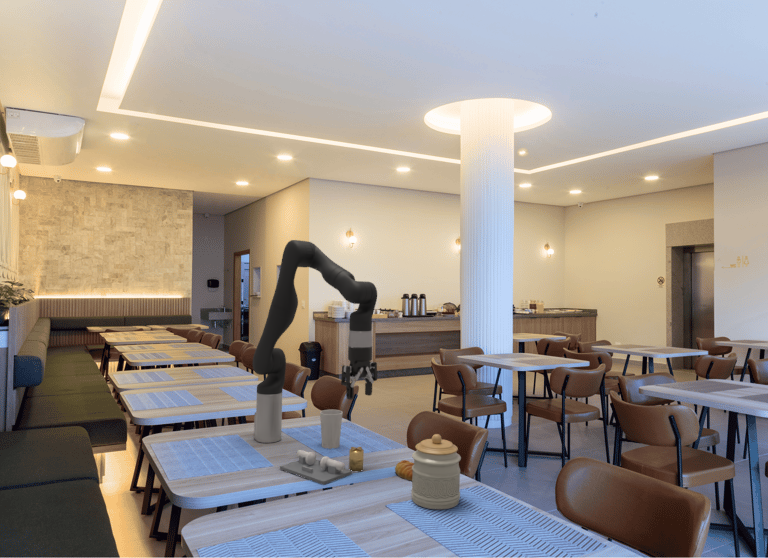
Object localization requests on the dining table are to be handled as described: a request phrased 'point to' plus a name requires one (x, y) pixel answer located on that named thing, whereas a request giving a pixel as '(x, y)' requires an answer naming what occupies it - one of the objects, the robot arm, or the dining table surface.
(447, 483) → the jar
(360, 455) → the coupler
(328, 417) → the cup
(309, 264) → the robot arm
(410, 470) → the pastry
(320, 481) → the shaft rig
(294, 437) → the dining table surface
